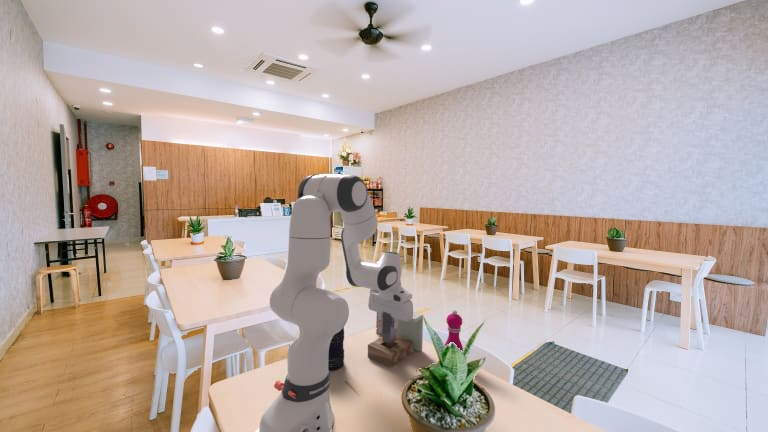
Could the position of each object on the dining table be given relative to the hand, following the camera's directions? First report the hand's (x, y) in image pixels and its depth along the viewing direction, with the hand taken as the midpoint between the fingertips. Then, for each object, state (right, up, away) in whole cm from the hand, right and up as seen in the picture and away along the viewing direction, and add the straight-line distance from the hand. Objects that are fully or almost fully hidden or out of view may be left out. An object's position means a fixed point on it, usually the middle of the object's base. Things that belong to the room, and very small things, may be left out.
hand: (389, 325), depth 123 cm
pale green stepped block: (+6, -12, +8) cm, 15 cm away
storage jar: (-22, -13, -6) cm, 26 cm away
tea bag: (-2, -11, +22) cm, 25 cm away
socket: (0, -12, +2) cm, 12 cm away
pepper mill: (+25, -13, -2) cm, 28 cm away
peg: (0, -6, +1) cm, 6 cm away
